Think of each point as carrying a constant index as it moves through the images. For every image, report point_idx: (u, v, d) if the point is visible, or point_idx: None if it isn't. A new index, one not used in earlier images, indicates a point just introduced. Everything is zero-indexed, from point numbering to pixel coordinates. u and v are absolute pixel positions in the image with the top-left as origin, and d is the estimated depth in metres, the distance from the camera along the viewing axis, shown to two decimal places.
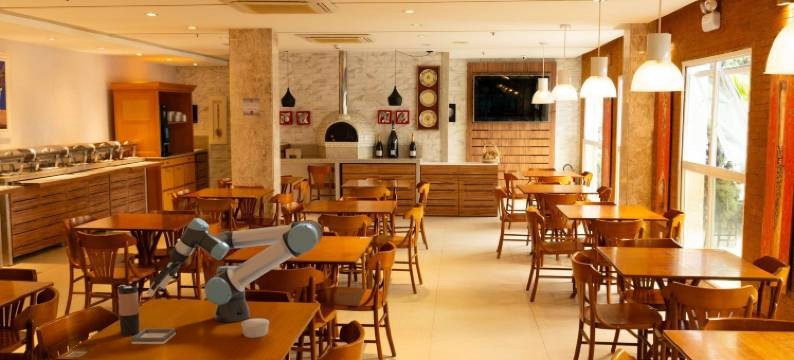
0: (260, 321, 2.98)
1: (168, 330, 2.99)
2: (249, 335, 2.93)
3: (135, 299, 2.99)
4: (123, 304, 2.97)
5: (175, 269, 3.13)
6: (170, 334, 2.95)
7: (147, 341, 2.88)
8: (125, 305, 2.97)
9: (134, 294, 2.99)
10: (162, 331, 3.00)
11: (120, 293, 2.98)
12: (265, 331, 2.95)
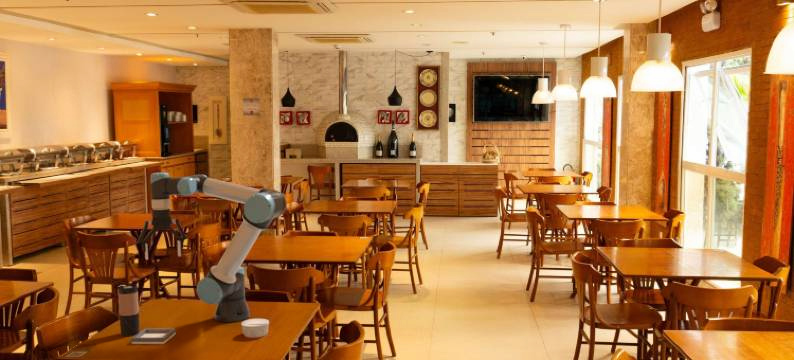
0: (260, 321, 2.98)
1: (168, 330, 2.99)
2: (249, 335, 2.93)
3: (135, 299, 2.99)
4: (123, 304, 2.97)
5: (170, 230, 3.14)
6: (170, 334, 2.95)
7: (147, 341, 2.88)
8: (125, 305, 2.97)
9: (134, 294, 2.99)
10: (162, 331, 3.00)
11: (120, 293, 2.98)
12: (265, 331, 2.95)
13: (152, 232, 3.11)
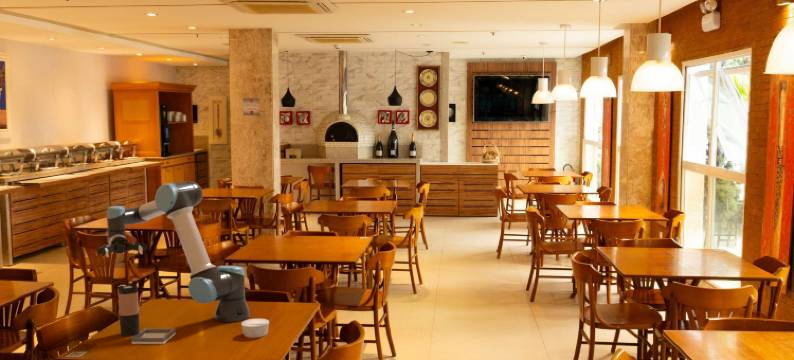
0: (260, 321, 2.98)
1: (168, 330, 2.99)
2: (249, 335, 2.93)
3: (135, 299, 2.99)
4: (123, 304, 2.97)
5: (128, 244, 3.19)
6: (170, 334, 2.95)
7: (147, 341, 2.88)
8: (125, 305, 2.97)
9: (134, 294, 2.99)
10: (162, 331, 3.00)
11: (120, 293, 2.98)
12: (265, 331, 2.95)
13: (111, 245, 3.16)
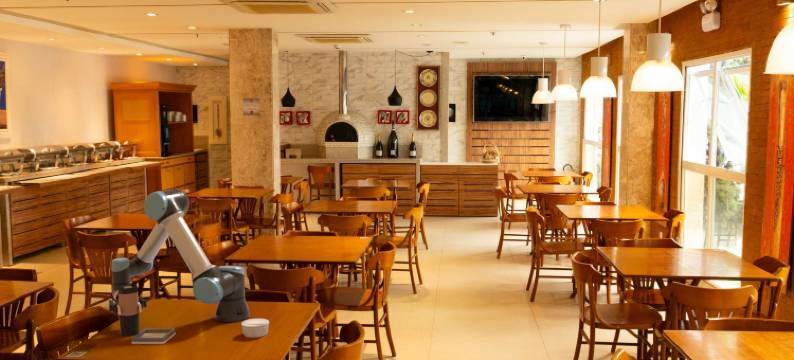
0: (260, 321, 2.98)
1: (168, 330, 2.99)
2: (249, 335, 2.93)
3: (135, 299, 2.99)
4: (123, 304, 2.97)
5: None
6: (170, 334, 2.95)
7: (147, 341, 2.88)
8: (125, 305, 2.97)
9: (134, 294, 2.99)
10: (162, 331, 3.00)
11: (120, 293, 2.98)
12: (265, 331, 2.95)
13: None
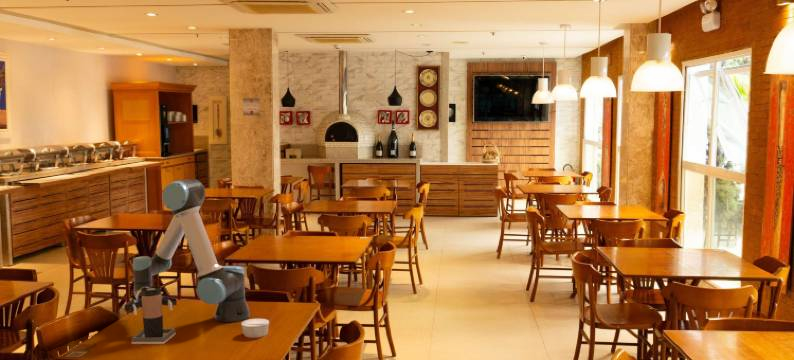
0: (260, 321, 2.98)
1: (168, 330, 2.99)
2: (249, 335, 2.93)
3: (159, 301, 2.92)
4: (147, 307, 2.89)
5: None
6: (170, 334, 2.95)
7: (147, 341, 2.88)
8: (148, 308, 2.89)
9: (158, 296, 2.91)
10: None
11: (143, 295, 2.90)
12: (265, 331, 2.95)
13: (139, 301, 2.99)
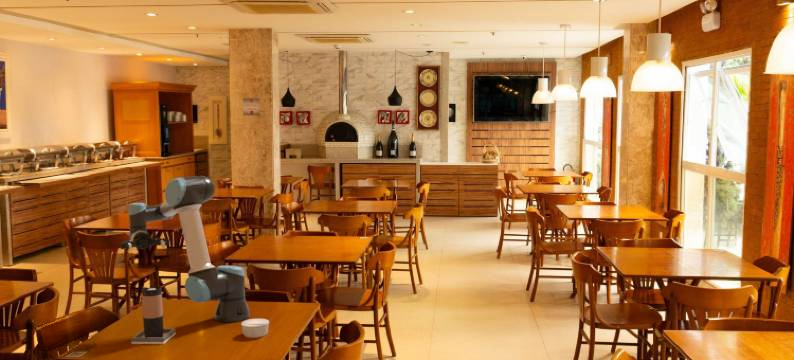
0: (260, 321, 2.98)
1: (168, 330, 2.99)
2: (249, 335, 2.93)
3: (159, 301, 2.92)
4: (147, 307, 2.89)
5: (151, 239, 3.24)
6: (170, 334, 2.95)
7: (147, 341, 2.88)
8: (149, 308, 2.89)
9: (158, 296, 2.91)
10: None
11: (144, 295, 2.90)
12: (265, 331, 2.95)
13: (134, 241, 3.20)
